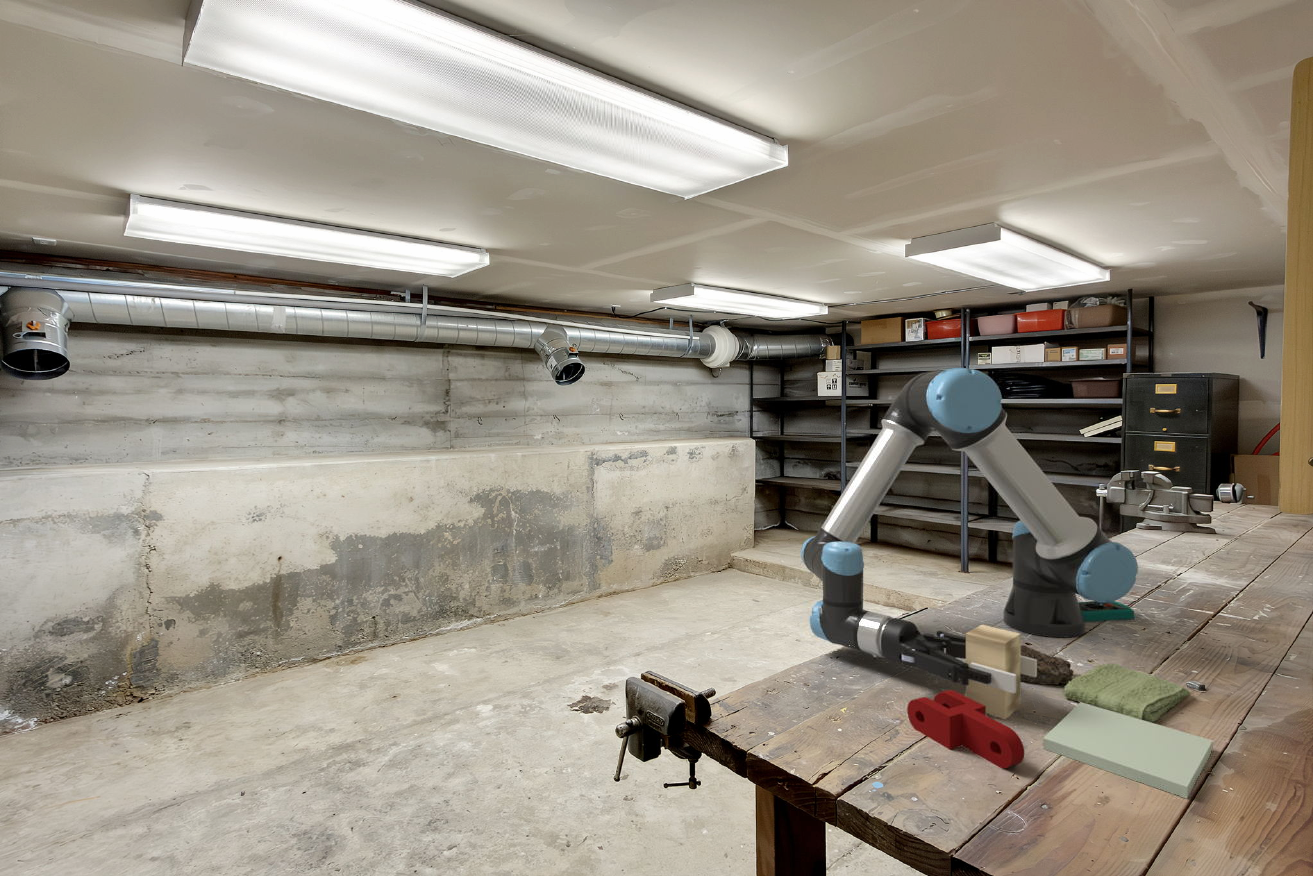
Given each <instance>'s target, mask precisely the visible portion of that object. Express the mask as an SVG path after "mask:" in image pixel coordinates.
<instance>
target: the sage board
mask: <svg viewBox="0 0 1313 876" xmlns="http://www.w3.org/2000/svg"><path fill="white" fill-rule="evenodd" d="M1213 744H1214V740H1212V739H1208V738H1206V737H1202V736H1198V735H1195V734H1191V733H1188V732H1184V731H1182V730H1178V729H1174V728H1171V727H1167V726H1166V725H1165V726H1164V725H1160V724H1157V723H1155V722H1147V721H1144V720H1140V719H1137V718H1134V717H1130V716H1127V715H1123V714H1120V713H1116V712H1113V711H1109V710H1106V709H1103V708H1099V707H1096V706H1092V705H1089V704H1085V703H1082V702H1078V704H1077V705H1076V706H1075V707H1074V708H1073V709H1071V711H1070V712H1069V713H1068V714H1067V715H1065V717H1063V718H1062V719H1061V720H1060V722H1059V723H1057V724H1056V725H1055V727H1053V728H1052V729H1051V730H1050V731H1049V732H1048V733H1047V734H1046V735H1045V736H1044V737H1043V738H1042V748H1043V749H1044V750H1046V751H1049V752H1052V753H1055V754H1058V755H1061V756H1063V757H1067V758H1069V759H1072V760H1075V761H1077V762H1081V763H1083V764H1086V765H1089V766H1092V767H1095V768H1097V769H1100V770H1103V771H1107V772H1110V773H1112V774H1115V775H1117V776H1120V777H1123V778H1126V779H1129V780H1131V781H1135V782H1137V781H1138V783H1140V782H1141V783H1140V784H1143V783H1144V785H1146V786H1149V785H1150V786H1149V787H1152V788H1154V787H1155V789H1157V788H1158V789H1157V790H1160V789H1162V790H1161V791H1163V790H1164V792H1166V791H1167V792H1166V793H1169V792H1170V793H1169V794H1172V795H1174V794H1176V795H1175V796H1177V795H1179V796H1178V797H1180V798H1183V799H1185V800H1187V799H1188V797H1189V796H1190V793H1191V792H1192V791H1193V788H1194V787H1193V786H1195V785H1196V783H1197V781H1198V779H1199V777H1200V776H1201V774H1202V772H1203V770H1204V768H1205V766H1206V764H1207V763H1208V761H1207V760H1209V759H1208V757H1209V755H1210V753H1211V751H1212V750H1214V745H1213ZM1212 752H1213V751H1212ZM1211 754H1212V753H1211ZM1210 756H1211V755H1210ZM1209 758H1210V757H1209ZM1205 763H1206V764H1205ZM1204 765H1205V766H1204ZM1203 767H1204V768H1203ZM1202 769H1203V770H1202ZM1201 771H1202V772H1201ZM1200 773H1201V774H1200ZM1198 776H1199V777H1198ZM1197 778H1198V779H1197ZM1196 780H1197V781H1196ZM1195 782H1196V783H1195ZM1194 784H1195V785H1194Z"/></svg>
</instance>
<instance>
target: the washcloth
mask: <svg viewBox="0 0 1313 876" xmlns="http://www.w3.org/2000/svg"><path fill="white" fill-rule="evenodd" d="M1062 693H1063V695H1064V697H1065V698H1066V699H1068V700H1069V699H1070V701H1074V702H1076V701H1078V702H1077V703H1080V702H1082V703H1085V704H1089V705H1092V706H1096V707H1099V708H1103V709H1106V710H1109V711H1113V712H1116V713H1120V714H1123V715H1127V716H1130V717H1134V718H1137V719H1140V720H1144V721H1147V722H1151V723H1155V722H1156V721H1158V720H1159V719H1160V718H1161V716H1164V715H1165V714H1166V713H1167V712H1168V711H1169V710H1170V709H1171V708H1175V706H1176V705H1177V704H1179V702H1180V701H1182V700H1184V699H1185V698H1186V697H1191V691H1189V690H1188V689H1187V688H1186V687H1183V686H1182V685H1181V684H1178V683H1176V682H1175V683H1174V682H1171V681H1169V680H1165V679H1162V678H1160V677H1158V676H1156V675H1153V674H1150V673H1148V672H1145V671H1140V670H1131V669H1128V668H1126V667H1123V666H1122V665H1120V664H1118V663H1110V662H1109V663H1106V664H1105V663H1104V664H1098V665H1097V666H1095V668H1092V669H1090V670H1088V671H1087V672H1085V673H1083V674H1082V675H1079V676H1076V677H1074V678H1072V680H1071V681H1069V683H1068V684H1065V686H1064V687H1063V690H1062ZM1166 711H1167V712H1166ZM1164 713H1165V714H1164ZM1159 717H1160V718H1159Z"/></svg>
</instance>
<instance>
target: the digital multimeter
mask: <svg viewBox="0 0 1313 876" xmlns="http://www.w3.org/2000/svg"><path fill="white" fill-rule="evenodd" d="M1078 603H1079V605H1080V608H1081V611H1082V614H1083V617H1084V619H1085V623H1089V622H1100V621H1101V622H1102V621H1104V622H1105V621H1121V620H1122V621H1123V620H1125V621H1126V620H1134V619H1135V610H1133V609H1132V607H1129V606H1127V605H1125V604H1123V603H1121V602H1118V601H1113V602H1108V603H1107V602H1106V603H1102V602H1096V601H1093V600H1088V601H1078Z"/></svg>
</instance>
